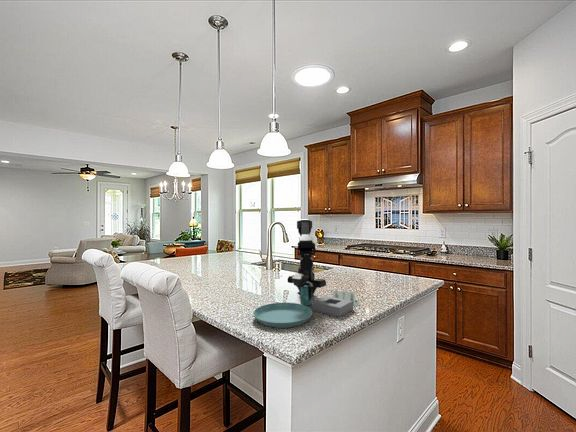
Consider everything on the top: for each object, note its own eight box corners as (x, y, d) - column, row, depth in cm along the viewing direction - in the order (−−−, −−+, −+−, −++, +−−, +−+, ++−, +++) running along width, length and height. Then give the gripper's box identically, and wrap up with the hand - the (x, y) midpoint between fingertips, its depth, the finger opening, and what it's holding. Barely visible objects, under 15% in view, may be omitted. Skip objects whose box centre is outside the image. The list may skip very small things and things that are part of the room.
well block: (311, 310, 132) (311, 301, 132) (326, 304, 141) (325, 295, 141) (339, 317, 123) (339, 307, 123) (353, 309, 132) (353, 300, 132)
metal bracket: (328, 287, 152) (358, 288, 149) (328, 297, 154) (358, 298, 151) (326, 302, 139) (360, 304, 136) (327, 313, 140) (360, 315, 138)
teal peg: (300, 303, 141) (300, 286, 141) (305, 301, 144) (305, 285, 144) (307, 305, 138) (307, 288, 138) (312, 303, 141) (312, 286, 141)
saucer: (241, 321, 121) (240, 313, 121) (280, 306, 140) (280, 299, 140) (286, 336, 106) (286, 326, 106) (324, 317, 124) (324, 309, 124)
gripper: (279, 266, 140) (280, 299, 140) (313, 271, 129) (313, 307, 129) (294, 263, 149) (294, 294, 149) (326, 267, 137) (327, 301, 137)
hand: (306, 299), depth 141 cm, fingers closed on teal peg, 4 cm apart
